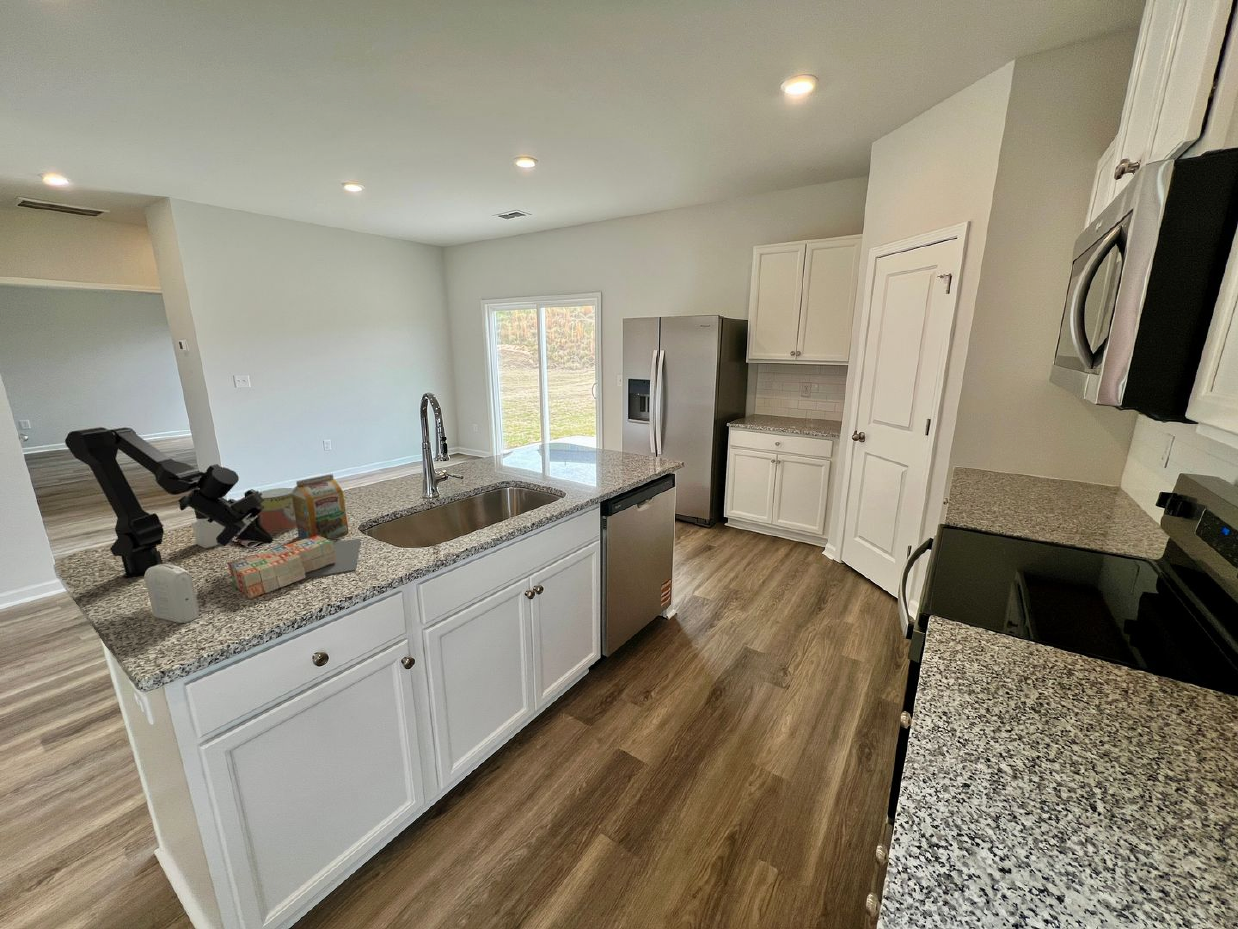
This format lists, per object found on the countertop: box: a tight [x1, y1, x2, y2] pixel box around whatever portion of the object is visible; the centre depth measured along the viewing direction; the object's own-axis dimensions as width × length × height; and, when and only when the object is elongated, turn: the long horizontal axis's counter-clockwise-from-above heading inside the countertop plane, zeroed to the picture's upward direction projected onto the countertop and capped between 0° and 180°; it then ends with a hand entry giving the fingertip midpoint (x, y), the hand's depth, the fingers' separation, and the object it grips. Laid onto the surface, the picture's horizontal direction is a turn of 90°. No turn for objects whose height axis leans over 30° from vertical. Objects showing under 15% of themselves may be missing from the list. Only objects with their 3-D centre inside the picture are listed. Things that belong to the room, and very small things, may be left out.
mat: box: [300, 538, 361, 581], centre depth 139 cm, size 16×24×1 cm, turn 24°
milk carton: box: [292, 473, 350, 540], centre depth 155 cm, size 11×11×19 cm
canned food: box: [256, 487, 297, 534], centre depth 163 cm, size 11×11×12 cm
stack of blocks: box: [227, 535, 337, 599], centre depth 128 cm, size 21×6×12 cm
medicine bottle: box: [191, 509, 225, 549], centre depth 150 cm, size 7×7×12 cm
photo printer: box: [143, 563, 200, 624], centre depth 108 cm, size 10×4×12 cm, turn 72°
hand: (272, 541), depth 133 cm, fingers closed
